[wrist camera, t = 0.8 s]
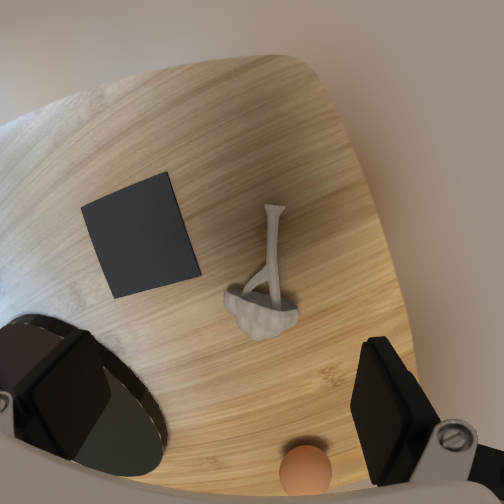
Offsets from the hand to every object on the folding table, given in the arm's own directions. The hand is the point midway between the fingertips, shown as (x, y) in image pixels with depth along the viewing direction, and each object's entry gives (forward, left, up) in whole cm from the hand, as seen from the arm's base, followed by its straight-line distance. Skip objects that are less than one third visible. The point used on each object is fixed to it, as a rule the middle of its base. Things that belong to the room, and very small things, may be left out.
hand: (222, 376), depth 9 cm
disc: (+23, -27, -19) cm, 40 cm away
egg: (+28, +6, -19) cm, 34 cm away
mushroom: (+2, +1, -19) cm, 19 cm away
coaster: (-1, -11, -18) cm, 21 cm away
